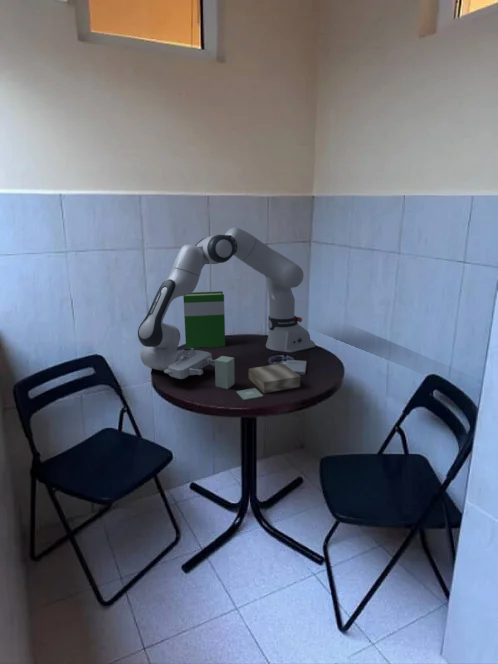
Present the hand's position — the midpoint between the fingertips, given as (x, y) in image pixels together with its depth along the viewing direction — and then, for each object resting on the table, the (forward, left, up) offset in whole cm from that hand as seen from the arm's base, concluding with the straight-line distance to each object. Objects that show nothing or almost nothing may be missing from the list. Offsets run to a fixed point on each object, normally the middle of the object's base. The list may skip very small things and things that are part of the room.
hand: (209, 367), depth 162 cm
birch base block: (-21, +10, -5) cm, 24 cm away
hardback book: (-11, -42, -6) cm, 44 cm away
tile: (-9, +16, -5) cm, 19 cm away
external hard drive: (-35, 0, -6) cm, 36 cm away
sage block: (-4, +5, -5) cm, 9 cm away
